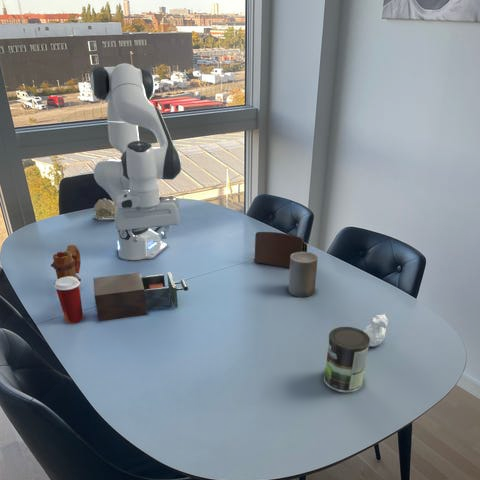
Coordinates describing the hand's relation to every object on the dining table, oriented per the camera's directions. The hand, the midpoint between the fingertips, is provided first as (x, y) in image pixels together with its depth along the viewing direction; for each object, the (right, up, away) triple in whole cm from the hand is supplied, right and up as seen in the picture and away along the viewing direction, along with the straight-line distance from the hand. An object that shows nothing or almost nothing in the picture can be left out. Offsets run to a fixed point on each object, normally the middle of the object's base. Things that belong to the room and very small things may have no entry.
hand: (149, 239), depth 151 cm
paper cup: (-25, -26, +2) cm, 36 cm away
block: (+1, -19, +10) cm, 21 cm away
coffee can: (+57, -43, -26) cm, 76 cm away
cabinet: (-11, -22, +8) cm, 26 cm away
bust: (+70, -33, -10) cm, 78 cm away
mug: (-33, -14, +22) cm, 42 cm away
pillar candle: (+52, -16, +20) cm, 58 cm away
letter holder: (+46, -2, +43) cm, 63 cm away
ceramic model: (-40, +27, +92) cm, 104 cm away
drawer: (+2, -20, +11) cm, 22 cm away
